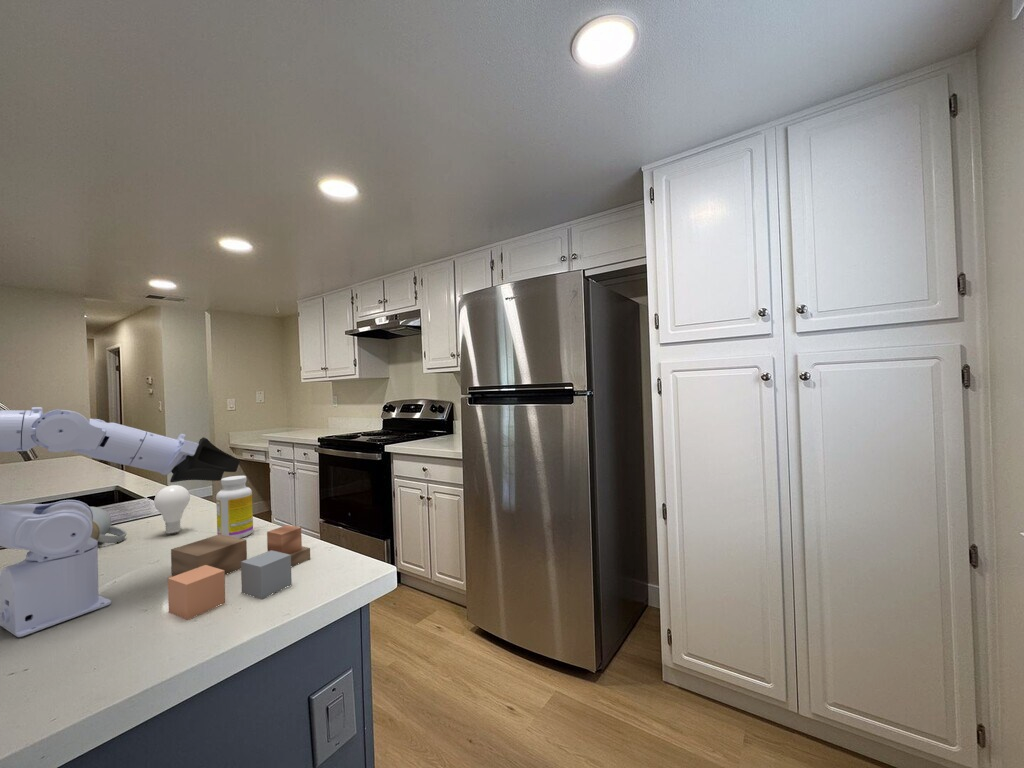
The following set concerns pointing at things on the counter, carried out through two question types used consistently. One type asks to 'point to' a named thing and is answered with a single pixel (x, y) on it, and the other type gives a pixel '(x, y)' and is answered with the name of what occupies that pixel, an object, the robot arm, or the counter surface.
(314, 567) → the counter surface
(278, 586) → the grey block
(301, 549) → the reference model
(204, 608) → the terracotta block
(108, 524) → the ceramic mug
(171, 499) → the lightbulb
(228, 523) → the supplement bottle
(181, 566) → the walnut base
